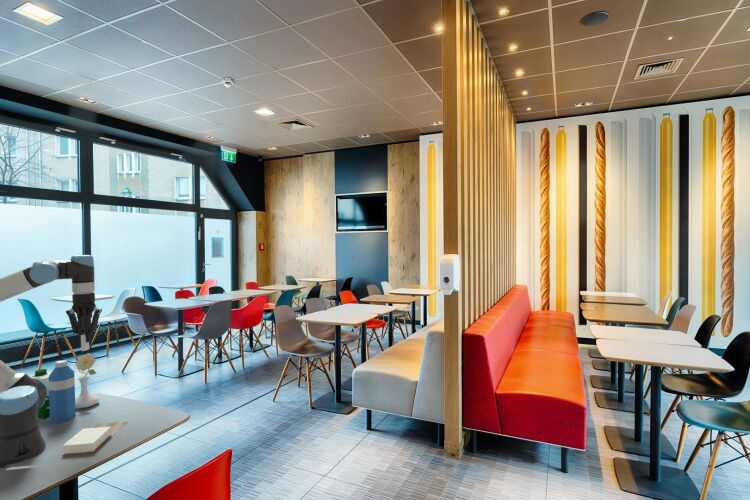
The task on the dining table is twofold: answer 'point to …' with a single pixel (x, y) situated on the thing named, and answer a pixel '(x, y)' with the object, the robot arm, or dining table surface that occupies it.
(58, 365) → the water bottle
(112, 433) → the walnut board
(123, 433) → the dining table surface
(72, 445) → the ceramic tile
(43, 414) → the milk carton
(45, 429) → the dining table surface
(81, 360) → the flower in vase
